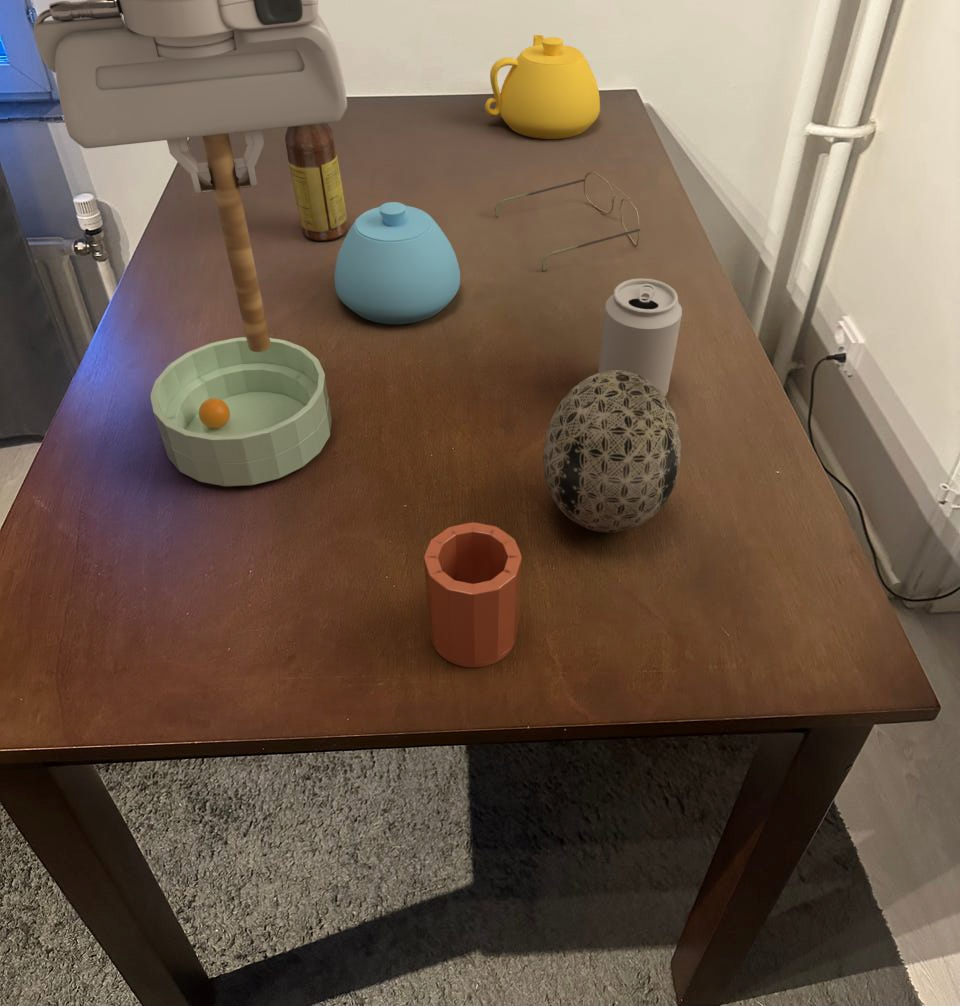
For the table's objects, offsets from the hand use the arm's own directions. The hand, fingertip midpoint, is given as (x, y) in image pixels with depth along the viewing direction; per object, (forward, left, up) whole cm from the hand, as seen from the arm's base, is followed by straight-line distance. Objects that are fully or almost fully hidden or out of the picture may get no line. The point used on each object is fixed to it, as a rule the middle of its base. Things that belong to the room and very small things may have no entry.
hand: (226, 187), depth 70 cm
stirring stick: (0, 0, -15) cm, 15 cm away
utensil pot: (+25, -18, -26) cm, 40 cm away
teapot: (+8, +88, -27) cm, 92 cm away
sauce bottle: (-12, +42, -27) cm, 51 cm away
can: (+33, +17, -27) cm, 46 cm away
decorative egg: (+33, -2, -27) cm, 42 cm away
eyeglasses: (+20, +50, -27) cm, 60 cm away
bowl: (-3, 0, -26) cm, 27 cm away
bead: (-7, 0, -24) cm, 25 cm away
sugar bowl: (+3, +29, -27) cm, 39 cm away
